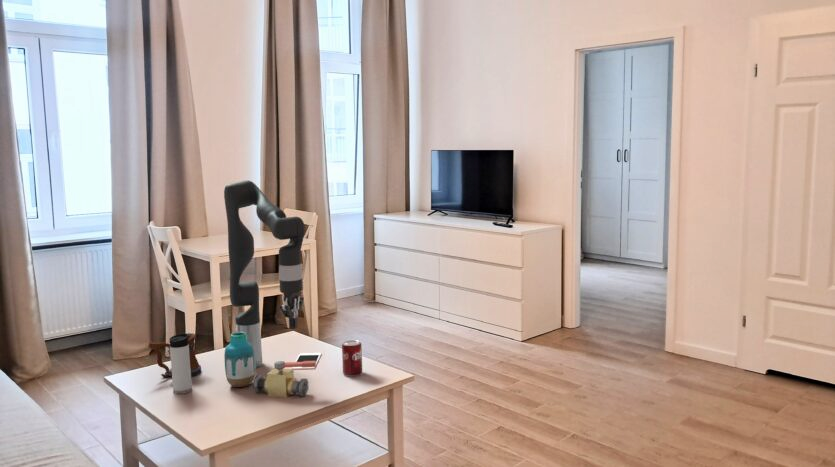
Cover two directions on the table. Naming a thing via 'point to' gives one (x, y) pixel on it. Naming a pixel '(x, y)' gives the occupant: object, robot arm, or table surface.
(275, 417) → the table surface
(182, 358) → the travel mug
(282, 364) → the lever
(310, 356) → the cell phone
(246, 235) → the robot arm
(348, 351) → the soda can
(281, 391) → the valve pipe
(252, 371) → the vase
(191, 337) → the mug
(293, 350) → the table surface
